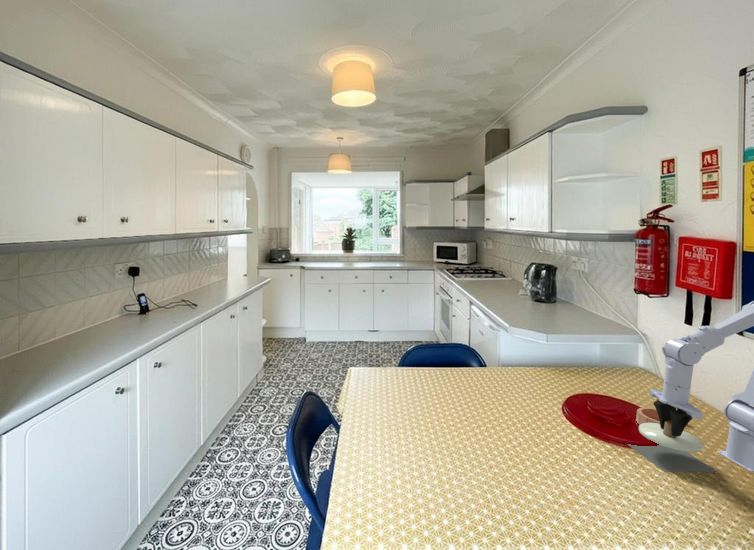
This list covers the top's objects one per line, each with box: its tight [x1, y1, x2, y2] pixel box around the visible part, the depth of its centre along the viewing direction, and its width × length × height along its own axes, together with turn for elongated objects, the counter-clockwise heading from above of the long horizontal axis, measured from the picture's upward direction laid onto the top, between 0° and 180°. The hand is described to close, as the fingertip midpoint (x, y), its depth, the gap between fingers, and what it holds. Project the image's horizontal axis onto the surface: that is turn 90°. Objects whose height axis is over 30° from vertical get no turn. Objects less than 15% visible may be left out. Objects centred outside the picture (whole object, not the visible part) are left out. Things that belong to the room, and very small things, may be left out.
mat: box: [626, 444, 718, 473], centre depth 106 cm, size 15×15×1 cm
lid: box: [638, 420, 704, 453], centre depth 106 cm, size 14×14×4 cm
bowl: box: [635, 406, 686, 432], centre depth 122 cm, size 12×12×4 cm
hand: (670, 432), depth 106 cm, fingers closed on lid, 3 cm apart
